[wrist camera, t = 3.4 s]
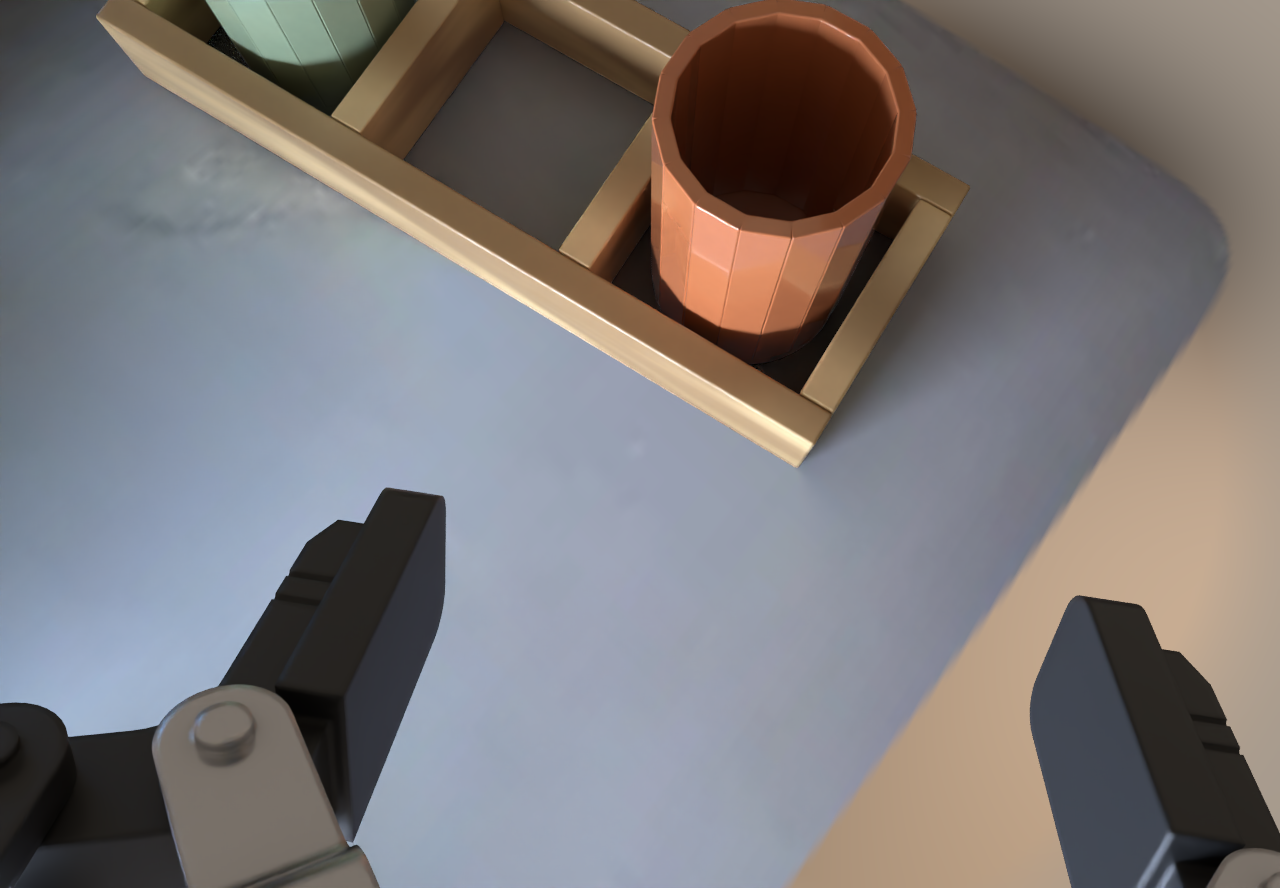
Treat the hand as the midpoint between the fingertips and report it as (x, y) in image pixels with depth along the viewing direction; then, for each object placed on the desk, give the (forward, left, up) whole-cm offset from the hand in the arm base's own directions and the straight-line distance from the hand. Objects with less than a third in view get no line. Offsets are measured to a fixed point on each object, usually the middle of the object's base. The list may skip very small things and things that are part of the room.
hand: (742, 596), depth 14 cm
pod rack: (+11, -10, -15) cm, 21 cm away
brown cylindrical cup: (+4, -10, -15) cm, 19 cm away
